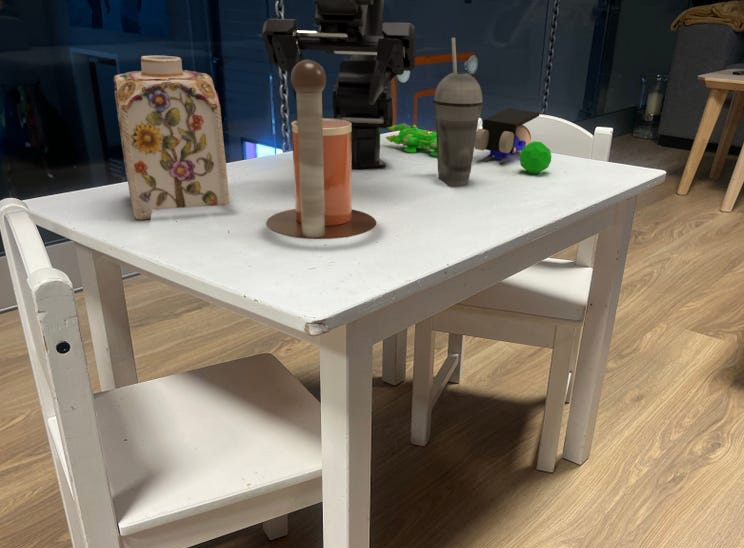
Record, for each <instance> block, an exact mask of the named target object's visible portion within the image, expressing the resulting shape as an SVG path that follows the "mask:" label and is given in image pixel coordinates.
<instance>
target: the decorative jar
mask: <svg viewBox="0 0 744 548" xmlns="http://www.w3.org/2000/svg"><path fill="white" fill-rule="evenodd" d="M182 61H183V60H182V58H181V57H179V56H171V55H142V56H141V58H140V65H141V70H134V71H133V70H132V71H128V72H125V73H120V74H116V75H114V77H113V85H114V86H113V89H114V90H113V91H114V98H115V105H116V112H117V113H116V114H117V119H118V126H119V133H120V140H121V148H122V155H123V156H122V157H123V162H124V168H125V175H126V179H127V184H128V191H129V198H130V203H131V207H132V213H133V215H134V218H135V219H136V220H139V221H141V220H142V221H143V220H151V219H152V213H153V211H155V210H169V209H181V208H183V209H184V208H196V207H209V206H211V207H212V206H228V205H230V199H229V184H228V183H229V182H228V172H227V171H228V170H227V161H226V151H225V150H226V149H225V142H224V133H223V131H224V130H223V122H222V121H223V120H222V113H221V112H222V111H221V104H220V98H219V94H218V92H217V91H216V89H215V87H216V85H215V84H214V82H213V79H212V77H211V76H210V75H209V74H207V73H204V72H199V71H193V70H187V69H184V70H183V65H182V64H183V62H182Z"/></svg>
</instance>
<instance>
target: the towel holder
mask: <svg viewBox="0 0 744 548" xmlns="http://www.w3.org/2000/svg"><path fill="white" fill-rule="evenodd" d="M290 83H291V87H292V86H293V88H294V89H295V91H296V97H297V102H296V117H297V119H296V120H297V122H298V148H299V173H300V199H301V222H299V221H297V219H296V211H295V208H292V209H287V210H283V211H280V212H278V213H275V214H272V215H271V216H270V217H269V218H267V220H266V222H265V225H266V226H267V228H268V229H269V230H271V231H272V232H274V233H276V234H279V235H282V236H287V237H291V238H298V239H307V240H336V239H343V238H344V239H345V238H351V237H356V236H358V235H359V236H360V235H363V234H365V233H368V232H370V231H372V230H373V229H374V228H375V227H376V226H377V221H376V218H374V216H372V215H370V214H369V213H366V212H364V211H360V210H356V209H352V218H351V220H350V221H349V222H347V223H344V224H340V225H333V226H325V206H324V164H323V123H322V118H323V91H324V89H325V88H326V85H327V74H326V70H325V69H324V67H323V66H322V65H321V64H320V63H319V62H317V61H316V60H312V59H302V61H300V62H299V63H297V64H296V65H295V66H294V68H293V70H292V73H291V79H290ZM293 88H292V89H293Z"/></svg>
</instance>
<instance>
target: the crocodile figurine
mask: <svg viewBox="0 0 744 548" xmlns="http://www.w3.org/2000/svg"><path fill="white" fill-rule="evenodd" d="M387 129H388V130H389V131H393V132H396V131H397V132H398V134H392V135H388V136H385V139H386V140H387V141H388V142H390V143H394V144H396V145H402V146H403V147H405V148H403V150H404V152H407V153H416V152H417V149H419V150H429V151H430V150H431V151H432V152H430V153H429V154H430V155H431V156H433V157H435V158H437V131H431V130H428V129H426V130H425V129H421V128H418V127H417V125H416V124H413V125H411V126H410V125H408V124H406V123H404V122H403V123H400V124H397V125H395V124H393V127H387Z"/></svg>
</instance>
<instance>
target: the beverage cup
mask: <svg viewBox="0 0 744 548" xmlns="http://www.w3.org/2000/svg"><path fill="white" fill-rule="evenodd" d="M451 57H452V72H451V73H449V74H447V75H446V76H444V77H443V78H442V79H441V80H440V81H439V83H438V84H437V86H436V89H435V92H434V98H433V100H432V103H433V109H434V117H435V126H436V129H435V130H436V132H437V157H436V159H437V173H438V179H439V180H440V181H441V182H442V183H444V184H445V185H446V186H447V187H448V186H449V187H464V186H467V185H469V181H470V180H469V179H470V176H471V172H472V165H473V158H474V152H475V148H474V145H475V139H476V132H477V131H478V124H479V119H480V117H481V114H482V111H483V110H482V108H483V105H484V100H483V92H482V88H481V86H480V84H479V82H478V81H477V79H476V78H475V77H474V76H473V75H471V74H469V73H468V72H461V71H460V72H459V71H458V66H457V48H456V37H451Z"/></svg>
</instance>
